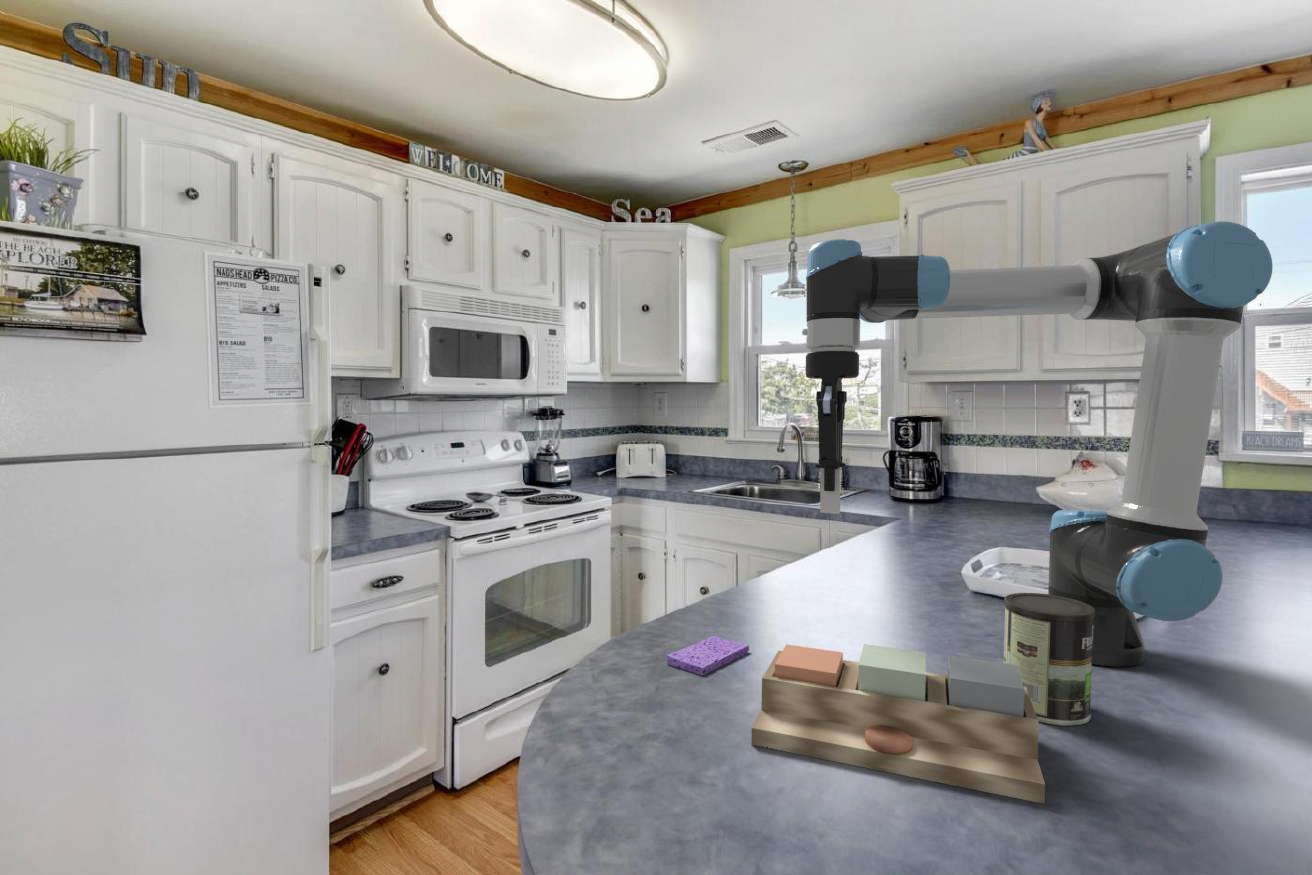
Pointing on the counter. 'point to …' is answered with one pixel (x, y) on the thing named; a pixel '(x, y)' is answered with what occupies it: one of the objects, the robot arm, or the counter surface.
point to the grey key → (985, 686)
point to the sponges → (707, 655)
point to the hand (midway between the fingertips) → (830, 512)
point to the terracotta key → (810, 665)
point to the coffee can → (1052, 654)
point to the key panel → (903, 733)
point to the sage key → (892, 672)
